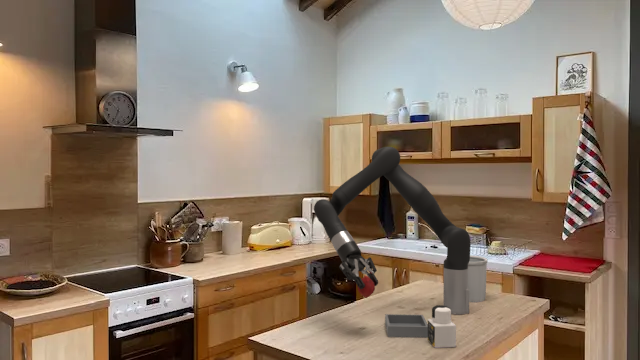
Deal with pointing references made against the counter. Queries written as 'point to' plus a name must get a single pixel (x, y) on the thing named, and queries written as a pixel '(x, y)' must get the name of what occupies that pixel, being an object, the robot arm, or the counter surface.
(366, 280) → the onion
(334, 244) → the robot arm
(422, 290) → the counter surface
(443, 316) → the medicine bottle
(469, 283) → the utensil holder
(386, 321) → the slate grey tray
